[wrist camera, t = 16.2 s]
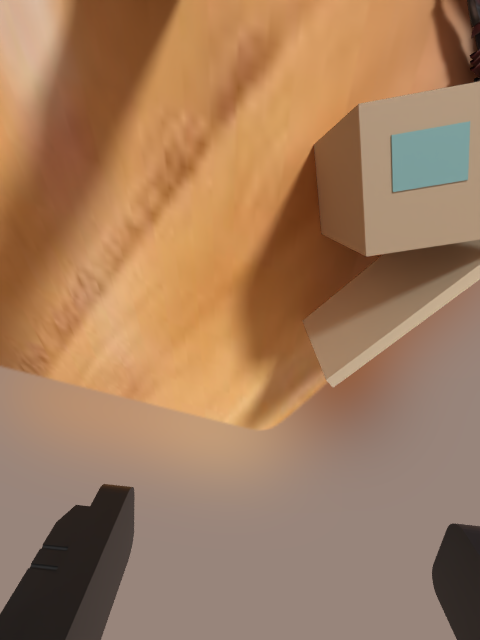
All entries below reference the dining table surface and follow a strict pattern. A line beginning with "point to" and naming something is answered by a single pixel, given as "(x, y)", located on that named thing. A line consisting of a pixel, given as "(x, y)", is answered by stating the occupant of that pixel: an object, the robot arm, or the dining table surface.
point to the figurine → (479, 19)
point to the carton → (403, 172)
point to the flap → (388, 304)
